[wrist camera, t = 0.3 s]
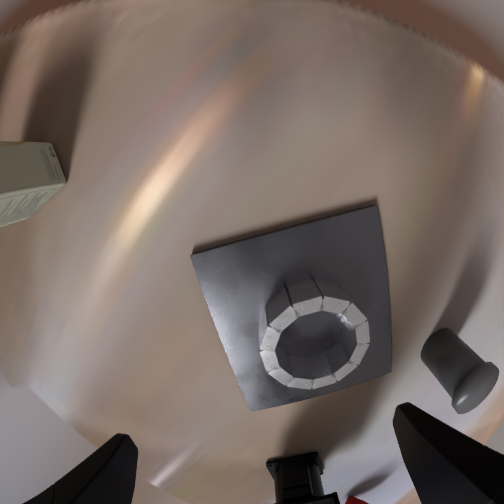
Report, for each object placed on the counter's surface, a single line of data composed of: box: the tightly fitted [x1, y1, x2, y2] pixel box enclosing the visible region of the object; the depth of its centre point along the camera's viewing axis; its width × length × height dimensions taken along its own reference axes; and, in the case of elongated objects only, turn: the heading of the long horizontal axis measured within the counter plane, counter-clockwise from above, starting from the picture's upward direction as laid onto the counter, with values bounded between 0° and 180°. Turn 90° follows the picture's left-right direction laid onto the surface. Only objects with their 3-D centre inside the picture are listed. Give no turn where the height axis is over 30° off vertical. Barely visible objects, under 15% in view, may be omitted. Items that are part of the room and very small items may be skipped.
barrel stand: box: [190, 205, 392, 411], centre depth 20 cm, size 16×14×4 cm
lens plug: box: [421, 328, 499, 414], centre depth 19 cm, size 5×5×8 cm
